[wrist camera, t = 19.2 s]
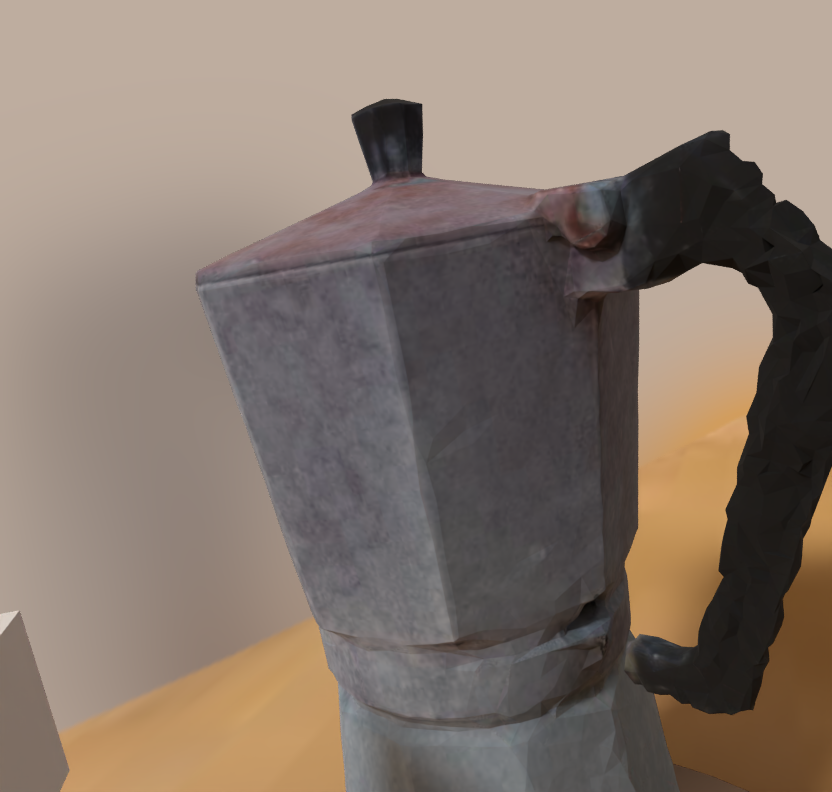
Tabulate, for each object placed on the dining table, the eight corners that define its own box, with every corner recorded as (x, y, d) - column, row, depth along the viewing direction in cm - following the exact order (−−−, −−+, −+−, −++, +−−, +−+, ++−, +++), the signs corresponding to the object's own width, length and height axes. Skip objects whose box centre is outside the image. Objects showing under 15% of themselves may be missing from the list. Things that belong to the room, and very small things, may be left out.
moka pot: (452, 703, 28) (363, 137, 23) (952, 959, 17) (985, -25, 12) (226, 880, 22) (39, 161, 17) (779, 1467, 11) (700, -126, 6)
